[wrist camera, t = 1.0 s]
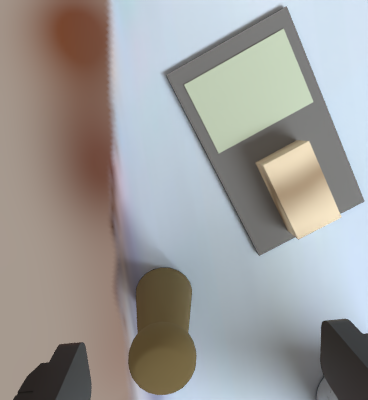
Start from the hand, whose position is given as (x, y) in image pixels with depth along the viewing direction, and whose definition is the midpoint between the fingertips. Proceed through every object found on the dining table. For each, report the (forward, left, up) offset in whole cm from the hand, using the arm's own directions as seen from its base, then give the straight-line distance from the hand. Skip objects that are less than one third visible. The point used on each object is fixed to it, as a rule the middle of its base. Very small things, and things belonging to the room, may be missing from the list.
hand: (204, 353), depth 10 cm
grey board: (-4, -10, -20) cm, 23 cm away
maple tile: (-8, -8, -20) cm, 23 cm away
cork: (-4, +9, -21) cm, 23 cm away
